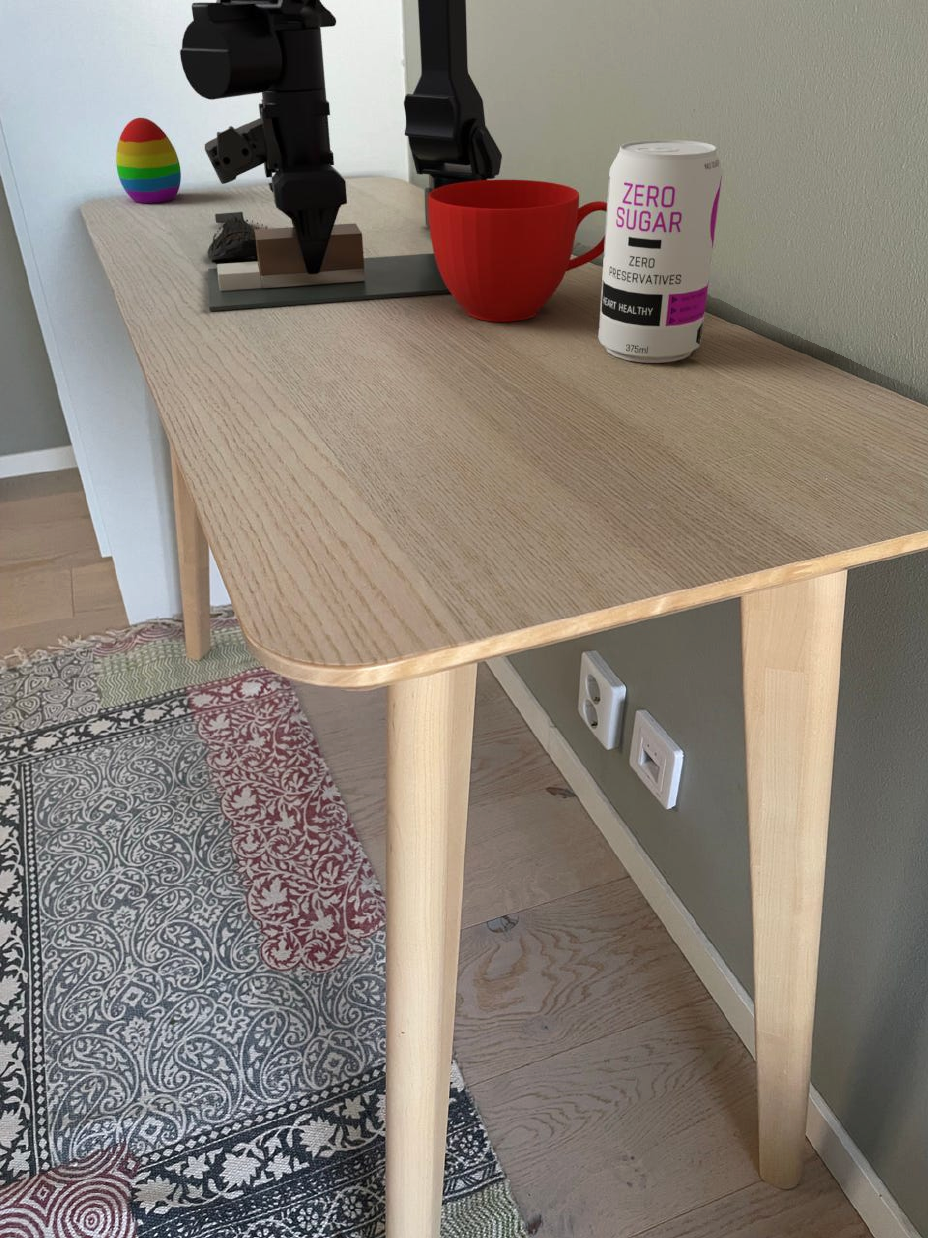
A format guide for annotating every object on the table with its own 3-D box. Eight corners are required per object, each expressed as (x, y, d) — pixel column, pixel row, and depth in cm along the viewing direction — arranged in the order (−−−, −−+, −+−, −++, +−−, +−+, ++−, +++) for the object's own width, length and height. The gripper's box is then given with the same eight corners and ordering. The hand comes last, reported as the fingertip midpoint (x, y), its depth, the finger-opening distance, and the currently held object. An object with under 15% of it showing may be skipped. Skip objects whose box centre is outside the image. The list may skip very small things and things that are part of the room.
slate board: (435, 256, 105) (435, 252, 105) (463, 292, 94) (463, 287, 94) (208, 272, 101) (208, 268, 101) (209, 311, 90) (209, 306, 89)
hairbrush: (257, 195, 120) (291, 227, 100) (261, 226, 122) (295, 264, 101) (189, 200, 118) (209, 234, 97) (194, 232, 120) (215, 272, 99)
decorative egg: (123, 195, 135) (108, 115, 130) (183, 191, 137) (171, 112, 132) (122, 207, 129) (106, 123, 123) (186, 203, 131) (172, 119, 125)
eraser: (359, 269, 99) (355, 222, 97) (365, 281, 96) (362, 233, 93) (260, 276, 98) (254, 229, 95) (262, 288, 94) (256, 239, 92)
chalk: (260, 277, 98) (258, 261, 97) (262, 288, 94) (260, 271, 93) (219, 280, 97) (217, 263, 96) (220, 291, 94) (217, 274, 93)
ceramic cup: (635, 324, 85) (646, 201, 79) (445, 338, 82) (442, 212, 77) (590, 284, 96) (596, 174, 90) (420, 296, 93) (416, 183, 87)
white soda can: (686, 331, 83) (709, 137, 75) (710, 364, 76) (738, 155, 68) (591, 333, 83) (604, 139, 75) (606, 367, 76) (622, 157, 68)
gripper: (201, 81, 94) (225, 250, 102) (202, 103, 78) (230, 299, 87) (317, 77, 96) (331, 243, 104) (340, 97, 80) (354, 290, 89)
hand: (310, 267), depth 96 cm, fingers closed on eraser, 4 cm apart
